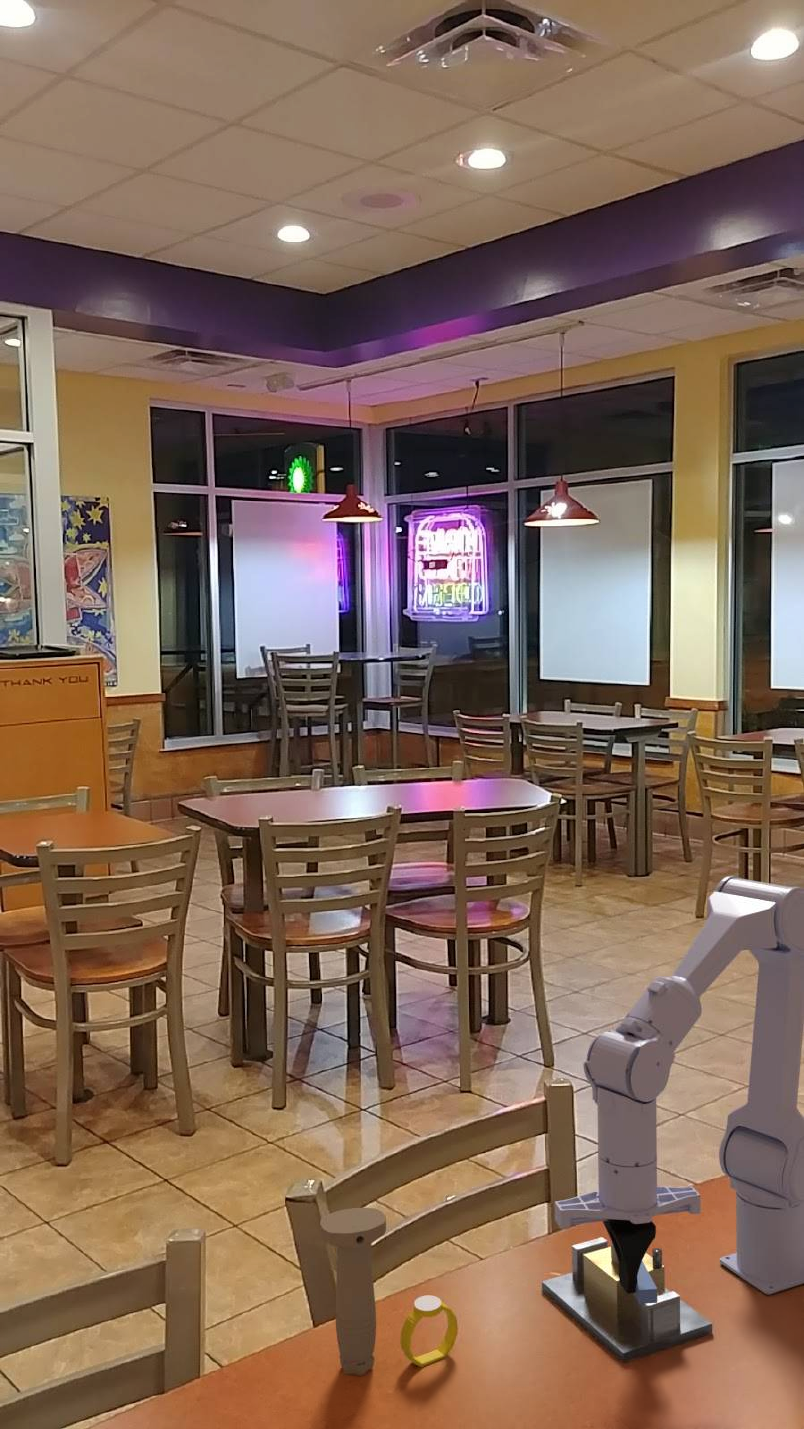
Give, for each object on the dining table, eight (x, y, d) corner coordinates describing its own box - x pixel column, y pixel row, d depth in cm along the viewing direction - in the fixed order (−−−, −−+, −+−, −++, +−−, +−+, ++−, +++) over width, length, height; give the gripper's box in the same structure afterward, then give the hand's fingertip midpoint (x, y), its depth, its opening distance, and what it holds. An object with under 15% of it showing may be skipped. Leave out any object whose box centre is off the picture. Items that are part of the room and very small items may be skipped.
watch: (413, 1379, 118) (408, 1321, 118) (398, 1364, 121) (393, 1308, 120) (464, 1354, 121) (459, 1297, 121) (448, 1340, 124) (443, 1285, 123)
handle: (395, 1375, 118) (391, 1225, 117) (331, 1389, 116) (327, 1237, 115) (381, 1347, 123) (377, 1203, 122) (319, 1360, 121) (315, 1214, 120)
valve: (625, 1265, 138) (624, 1203, 137) (712, 1332, 124) (711, 1264, 124) (542, 1290, 133) (540, 1226, 132) (623, 1362, 119) (622, 1292, 119)
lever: (608, 1252, 129) (608, 1234, 129) (632, 1250, 130) (632, 1232, 129) (635, 1308, 119) (635, 1288, 118) (661, 1306, 119) (661, 1286, 119)
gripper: (569, 1179, 115) (571, 1318, 116) (713, 1164, 117) (714, 1300, 118) (547, 1149, 122) (549, 1280, 123) (683, 1135, 124) (684, 1263, 125)
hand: (628, 1287), depth 121 cm, fingers closed, pressing on lever
